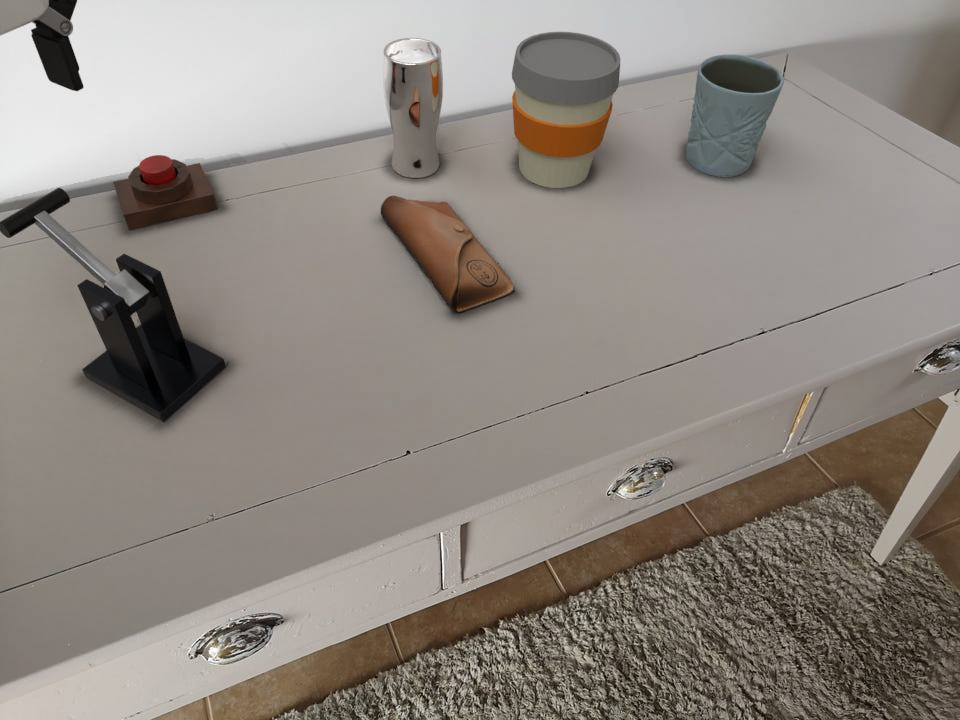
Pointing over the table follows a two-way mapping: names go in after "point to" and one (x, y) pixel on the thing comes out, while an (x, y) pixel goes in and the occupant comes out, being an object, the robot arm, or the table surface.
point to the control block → (165, 196)
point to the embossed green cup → (730, 112)
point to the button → (157, 170)
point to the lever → (74, 247)
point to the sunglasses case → (447, 252)
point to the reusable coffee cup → (562, 104)
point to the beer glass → (413, 103)
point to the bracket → (146, 346)
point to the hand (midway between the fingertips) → (12, 112)
